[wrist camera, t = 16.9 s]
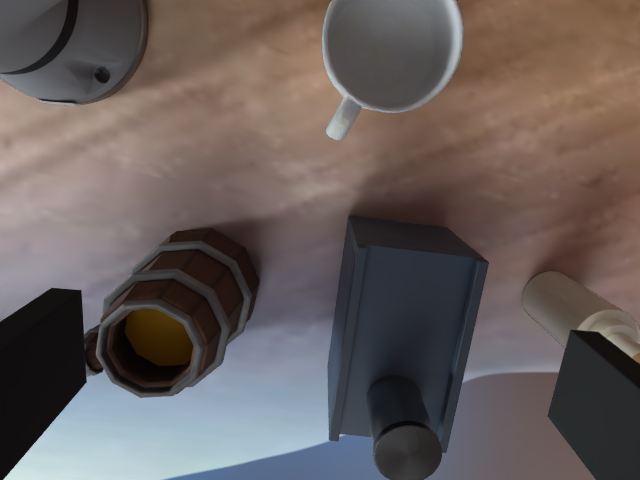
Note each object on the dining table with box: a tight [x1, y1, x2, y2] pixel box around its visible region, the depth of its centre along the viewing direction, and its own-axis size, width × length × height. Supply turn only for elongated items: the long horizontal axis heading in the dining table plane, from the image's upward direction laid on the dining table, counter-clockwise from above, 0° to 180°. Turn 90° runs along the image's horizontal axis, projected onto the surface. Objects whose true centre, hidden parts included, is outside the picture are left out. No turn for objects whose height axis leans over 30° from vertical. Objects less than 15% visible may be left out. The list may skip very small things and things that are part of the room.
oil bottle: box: [522, 271, 640, 364], centre depth 40 cm, size 6×6×15 cm
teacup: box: [322, 0, 464, 140], centre depth 38 cm, size 14×11×8 cm
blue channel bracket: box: [328, 216, 489, 453], centre depth 42 cm, size 17×10×12 cm, turn 173°
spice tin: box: [366, 375, 442, 480], centre depth 35 cm, size 5×5×7 cm
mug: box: [84, 229, 260, 398], centre depth 40 cm, size 16×12×15 cm
